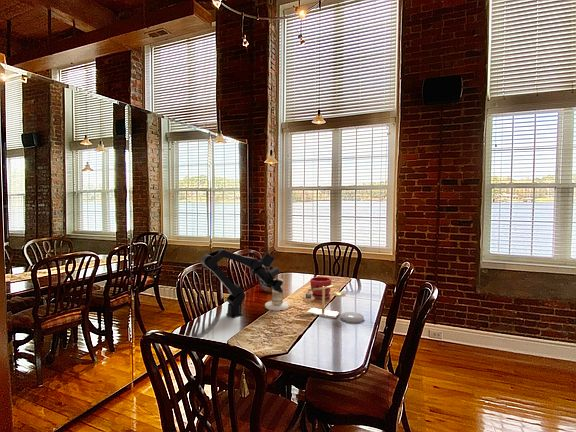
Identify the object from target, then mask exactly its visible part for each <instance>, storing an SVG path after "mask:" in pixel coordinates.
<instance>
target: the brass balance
mask: <svg viewBox="0 0 576 432" xmlns="http://www.w3.org/2000/svg"><path fill="white" fill-rule="evenodd" d="M340 287H341V285H340V284H336V285H331V286H328V287H325V286H323V287H321V288H314V289H311V288H310V289H309V288H308V292H307V293H305V295H303V296H301V300H304V301H308V302H310V301H311V302H312V301H315V299H316V298H315V297H313V296H312V293H310V292H312V291H313V290H320V289H322V299H321V309H320V308H315V307H311V308H310V309H308V311H307V312H306V313H310V314H309V315H311V314H316V315H315V316H317V315H319V317H324V318H331V319H336V318H337V317H339V315H340V311H335V310H327V309H325V306H326V304H325V303H326V302H325V301H326V299H325V289H327V288H331V289H332V288H338V291H332V295H333V296H334V297H346V296H347V294H346V293H345V292H343V291H340Z"/></svg>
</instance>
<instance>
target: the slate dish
mask: <svg viewBox="0 0 576 432" xmlns="http://www.w3.org/2000/svg"><path fill="white" fill-rule="evenodd" d="M340 320H341V321H343V322H345V323H349V324H359V323H362V322H364V315H363V314H361V313H359V312H354V311H346V312H345V311H344V312H342V313H341V314H340Z"/></svg>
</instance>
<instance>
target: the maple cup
mask: <svg viewBox="0 0 576 432" xmlns="http://www.w3.org/2000/svg"><path fill="white" fill-rule="evenodd" d="M276 279H277V278H275V279H273V280H276ZM278 279H279V280H281V281H282V282H283V284H284V280H283V279H282V278H278ZM283 284H282V285H281V288H282V291H284V290H283V288H284V287H283V286H284V285H283ZM283 298H284V297H283V292H282V293H281V292H278V291H275V290H273V289H272V292H271V300H270V301H271V303H272V304H282V303H283V301H284V300H283Z"/></svg>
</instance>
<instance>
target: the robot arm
mask: <svg viewBox="0 0 576 432" xmlns="http://www.w3.org/2000/svg"><path fill="white" fill-rule="evenodd" d="M224 258H226V259H228V260H231V261H234V262H236V263H237V262H238V263H240V264H242V265H243V266H246V267H247V268H249V269H251V270H250V272H249V273H250V274H249V275H251V276H253V277H255V276H256V277H258V279H259V280H258V281H259V282H258V283H260V285H261V284H264V286H267V287H269V288H272V289H273V290H275V291H278V292H281V293H282V292H283V291H284V290H283V291H282V288H281V285H282V284H284V281H283V282H282V281H281V280H279V279H280V278H276V276H278V275H280V274H281V271H280V268H279V267H277V266H272V264H273V263H275V261H276V259H275V257H273V256H272V255H270V254H269V253H267V252H265V253H264V255H263V256H262V257H261V258H260V259H257V258H254V257H251V256H243V255H240V254H237V253H233V252H231V251H228V250H226V249H225V248H224V249H223V248H219V249H217V250H215V251H212V252H209V253H205V254H203V255H202V256H201V257H200V263H201V264H202V266H204V267H206V268H207V269H208V270H210V271H211V272H212V273H213V274H214V276H215V277H217V279H218V280H219V281H220V282H221V283H222V284H223V285H224V287H225V288H226V289H227V292H228V294H229V295H228V296H227V298H226V301H227V303H228V304H227V313H226V316H228V317H231V318H236V317H240V316H243V313H242V304H243V301H244V300H245V298H246V293H245V292H246V291H244V290H243V288H242V287H241V286H240V285H239V284H237V283H235V284H234V283H233V281H232V280H231V279H230V278H229V277H228V276H227V275H226V274H225V273H224V271H223V270H222V269H221V268H220V266H219V263H218V262H220V261H221V260H222V259H224ZM266 268H268V269H266ZM267 270H268V271H267ZM273 279H276V280H273Z"/></svg>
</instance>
